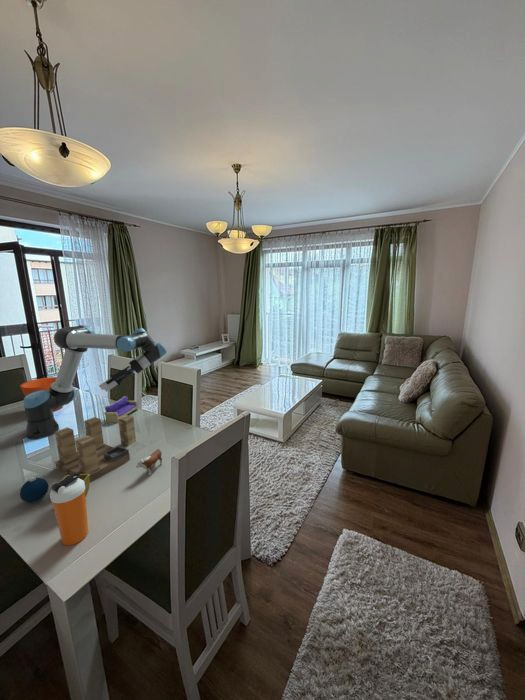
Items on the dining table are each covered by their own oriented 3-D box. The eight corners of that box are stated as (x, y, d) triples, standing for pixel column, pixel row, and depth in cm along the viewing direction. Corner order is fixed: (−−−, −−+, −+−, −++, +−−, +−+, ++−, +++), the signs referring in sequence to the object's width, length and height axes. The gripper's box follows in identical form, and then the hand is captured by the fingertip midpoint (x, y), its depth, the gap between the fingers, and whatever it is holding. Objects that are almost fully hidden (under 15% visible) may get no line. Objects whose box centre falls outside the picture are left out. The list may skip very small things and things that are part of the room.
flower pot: (69, 495, 108) (66, 474, 106) (93, 494, 108) (90, 473, 107) (54, 512, 99) (50, 490, 97) (80, 511, 100) (77, 488, 98)
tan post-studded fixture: (56, 468, 125) (49, 432, 122) (99, 447, 143) (95, 415, 139) (86, 484, 114) (80, 445, 111) (130, 459, 131) (126, 425, 128)
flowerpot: (52, 416, 181) (47, 387, 177) (14, 417, 181) (9, 388, 177) (78, 402, 205) (74, 376, 202) (44, 402, 206) (40, 377, 202)
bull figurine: (135, 478, 117) (133, 461, 116) (158, 461, 129) (156, 445, 128) (143, 481, 116) (141, 463, 114) (165, 463, 128) (164, 447, 126)
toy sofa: (117, 423, 170) (115, 407, 168) (105, 422, 171) (103, 407, 169) (138, 410, 190) (137, 395, 188) (127, 409, 192) (126, 395, 190)
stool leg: (121, 444, 145) (118, 419, 143) (128, 439, 150) (125, 415, 147) (128, 445, 144) (125, 420, 141) (136, 440, 148) (133, 416, 146)
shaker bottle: (98, 528, 92) (90, 474, 88) (72, 552, 84) (62, 493, 80) (78, 522, 95) (69, 469, 91) (51, 543, 86) (40, 486, 83)
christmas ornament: (46, 489, 112) (42, 466, 110) (53, 498, 106) (48, 474, 104) (19, 501, 105) (14, 477, 103) (24, 511, 100) (19, 486, 98)
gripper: (143, 365, 140) (103, 393, 131) (144, 372, 163) (111, 395, 154) (133, 354, 140) (93, 380, 131) (136, 362, 162) (102, 385, 154)
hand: (102, 389), depth 142 cm, fingers open, 13 cm apart
